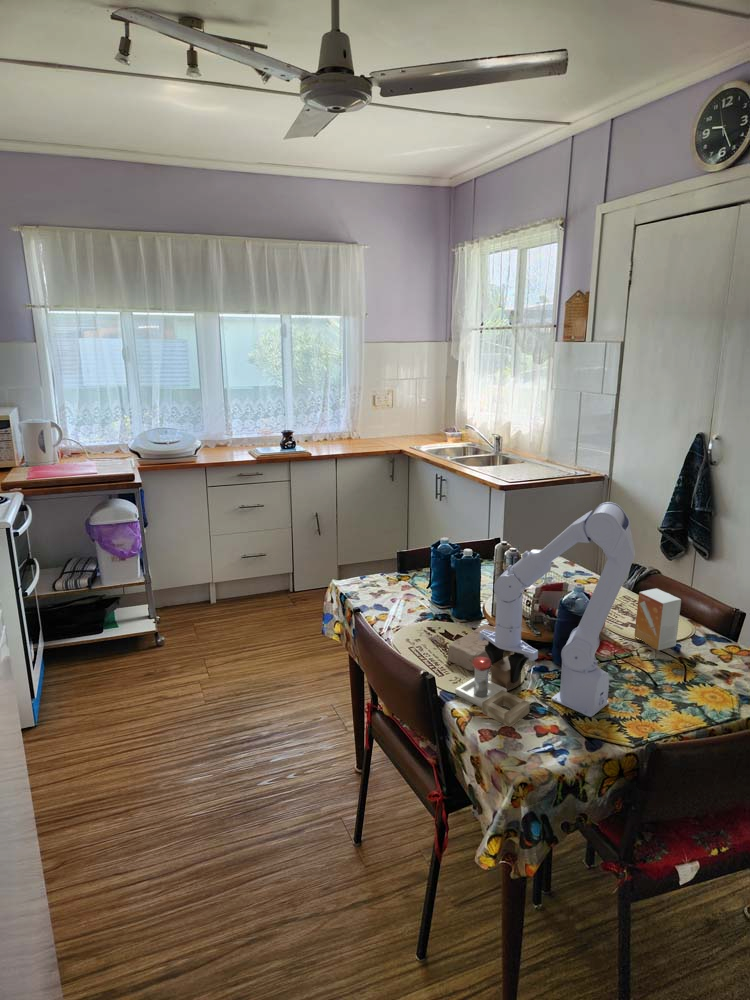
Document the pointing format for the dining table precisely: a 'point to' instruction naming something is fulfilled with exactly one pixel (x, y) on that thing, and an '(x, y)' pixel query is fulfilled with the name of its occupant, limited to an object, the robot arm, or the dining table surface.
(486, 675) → the pin
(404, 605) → the dining table surface
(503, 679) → the brown rectangular block
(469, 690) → the tray
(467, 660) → the brick
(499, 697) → the socket block
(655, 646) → the small box
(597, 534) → the robot arm
